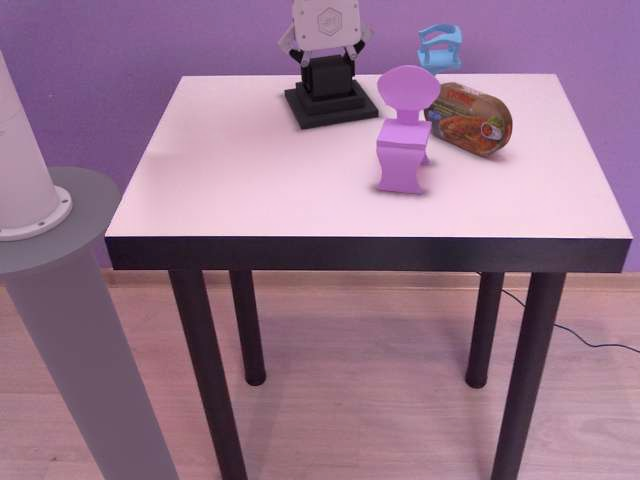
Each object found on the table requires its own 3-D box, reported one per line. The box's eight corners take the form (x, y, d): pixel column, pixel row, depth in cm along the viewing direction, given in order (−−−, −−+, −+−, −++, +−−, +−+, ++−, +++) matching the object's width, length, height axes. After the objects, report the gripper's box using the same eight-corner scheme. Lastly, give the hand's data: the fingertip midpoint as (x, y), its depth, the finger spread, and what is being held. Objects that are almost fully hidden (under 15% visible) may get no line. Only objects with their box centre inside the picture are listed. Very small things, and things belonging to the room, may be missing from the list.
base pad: (301, 129, 99) (299, 112, 97) (284, 96, 108) (282, 79, 107) (378, 116, 101) (378, 99, 100) (355, 85, 111) (355, 69, 109)
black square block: (315, 96, 100) (314, 72, 97) (306, 82, 104) (305, 58, 102) (351, 91, 101) (350, 67, 99) (341, 77, 106) (340, 54, 103)
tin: (420, 129, 98) (423, 78, 92) (434, 123, 99) (437, 72, 94) (498, 165, 89) (506, 110, 84) (511, 157, 91) (520, 103, 85)
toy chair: (368, 190, 85) (367, 86, 75) (380, 158, 91) (381, 58, 82) (429, 197, 83) (436, 91, 74) (437, 163, 90) (444, 62, 80)
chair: (409, 89, 109) (411, 19, 102) (456, 86, 109) (462, 17, 102) (414, 108, 103) (417, 36, 96) (464, 106, 103) (471, 34, 96)
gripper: (269, -20, 86) (282, 101, 98) (386, -33, 90) (385, 85, 101) (260, -34, 92) (272, 82, 104) (370, -45, 95) (371, 68, 107)
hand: (328, 83), depth 102 cm, fingers closed on black square block, 6 cm apart
